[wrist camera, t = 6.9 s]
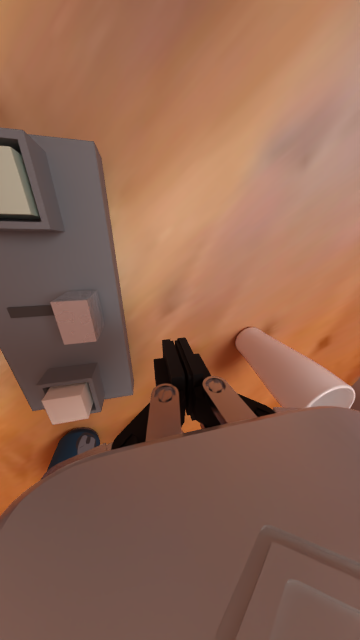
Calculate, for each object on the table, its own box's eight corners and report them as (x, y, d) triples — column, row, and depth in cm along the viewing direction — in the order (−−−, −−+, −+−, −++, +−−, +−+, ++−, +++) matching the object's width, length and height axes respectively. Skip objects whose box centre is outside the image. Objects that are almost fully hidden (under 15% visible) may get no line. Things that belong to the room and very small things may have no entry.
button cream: (54, 381, 21) (41, 400, 19) (88, 376, 22) (80, 395, 19) (62, 403, 23) (52, 424, 20) (94, 398, 24) (88, 418, 21)
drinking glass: (230, 357, 32) (294, 439, 19) (230, 326, 29) (306, 396, 16) (262, 349, 33) (346, 421, 19) (265, 318, 30) (366, 378, 17)
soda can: (61, 450, 33) (23, 551, 22) (60, 426, 30) (15, 526, 19) (100, 447, 34) (82, 538, 24) (102, 424, 32) (82, 514, 21)
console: (-71, 141, 15) (-195, 81, 9) (101, 157, 17) (83, 118, 12) (43, 394, 27) (19, 431, 21) (133, 381, 29) (132, 411, 24)
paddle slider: (67, 291, 18) (50, 302, 15) (97, 289, 19) (86, 300, 15) (77, 327, 20) (64, 344, 17) (104, 324, 21) (96, 341, 17)
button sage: (-22, 160, 14) (-63, 139, 11) (34, 165, 14) (10, 146, 12) (-1, 218, 15) (-31, 212, 12) (49, 219, 16) (31, 214, 13)
